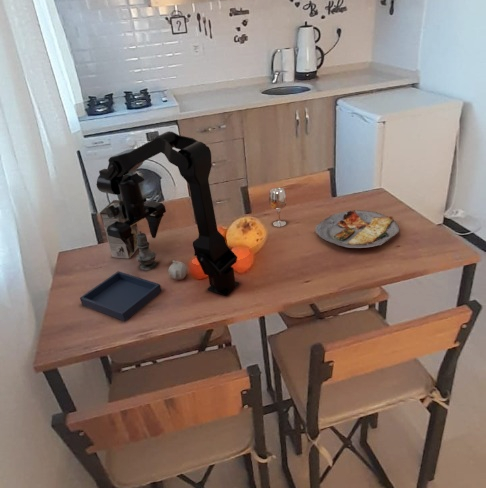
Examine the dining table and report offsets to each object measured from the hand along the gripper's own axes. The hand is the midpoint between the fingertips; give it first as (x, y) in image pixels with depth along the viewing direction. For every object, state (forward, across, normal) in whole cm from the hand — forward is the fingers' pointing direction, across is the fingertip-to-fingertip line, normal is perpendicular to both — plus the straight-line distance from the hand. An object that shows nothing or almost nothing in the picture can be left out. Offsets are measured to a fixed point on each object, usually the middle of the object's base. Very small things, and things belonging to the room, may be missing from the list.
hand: (143, 244), depth 139 cm
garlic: (+8, +1, +13) cm, 15 cm away
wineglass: (+8, -39, +24) cm, 46 cm away
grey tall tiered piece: (+8, 0, 0) cm, 8 cm away
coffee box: (+8, -4, -13) cm, 16 cm away
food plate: (+8, -42, +50) cm, 66 cm away
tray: (+7, +16, +5) cm, 18 cm away
